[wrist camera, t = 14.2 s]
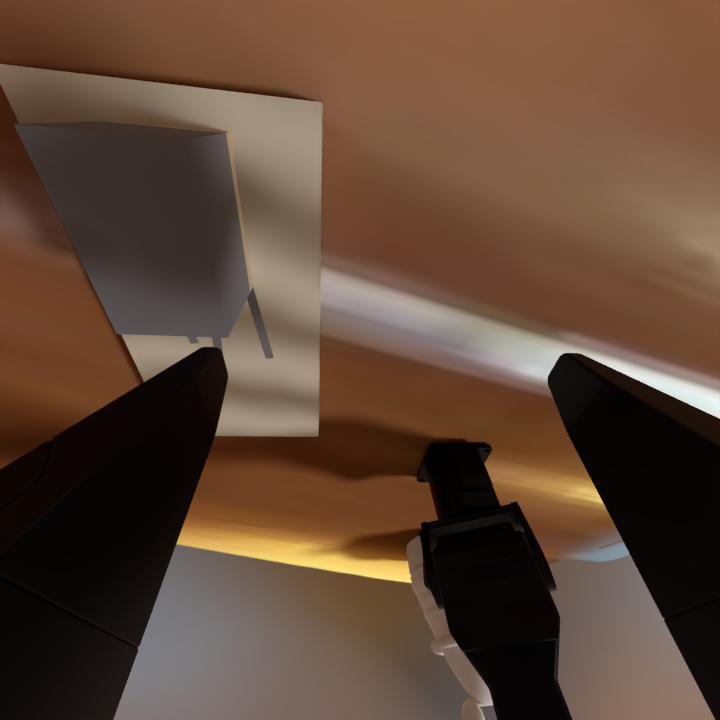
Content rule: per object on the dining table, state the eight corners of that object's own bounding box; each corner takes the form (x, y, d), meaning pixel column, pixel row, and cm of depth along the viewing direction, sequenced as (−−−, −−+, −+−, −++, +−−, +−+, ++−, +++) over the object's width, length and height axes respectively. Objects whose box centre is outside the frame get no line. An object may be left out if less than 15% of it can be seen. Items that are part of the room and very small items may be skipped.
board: (319, 422, 27) (318, 437, 26) (177, 421, 26) (169, 435, 25) (322, 102, 14) (321, 102, 12) (22, 66, 12) (-12, 62, 11)
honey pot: (408, 563, 52) (434, 728, 38) (403, 532, 44) (434, 729, 30) (484, 553, 51) (539, 718, 37) (493, 521, 43) (568, 716, 29)
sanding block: (252, 287, 17) (227, 337, 13) (167, 283, 17) (116, 334, 13) (230, 132, 13) (183, 139, 9) (114, 121, 12) (13, 123, 8)
